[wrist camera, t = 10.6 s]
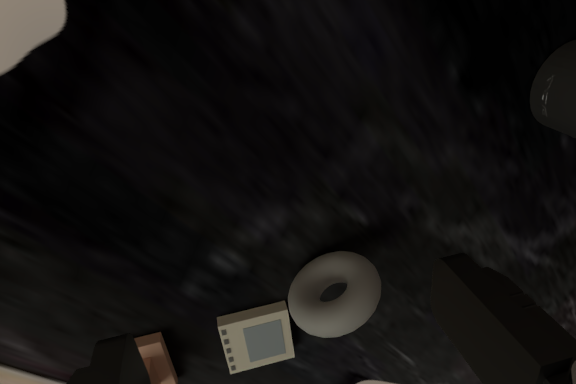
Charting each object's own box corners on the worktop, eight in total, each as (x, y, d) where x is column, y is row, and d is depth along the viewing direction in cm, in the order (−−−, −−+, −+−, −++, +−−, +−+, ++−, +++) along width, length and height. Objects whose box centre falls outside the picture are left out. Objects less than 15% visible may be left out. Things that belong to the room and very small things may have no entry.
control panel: (284, 300, 48) (287, 310, 47) (291, 347, 52) (294, 357, 50) (216, 317, 47) (217, 327, 45) (229, 364, 51) (230, 375, 49)
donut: (287, 293, 48) (310, 362, 39) (273, 273, 46) (295, 342, 37) (363, 251, 47) (403, 313, 39) (352, 230, 46) (392, 289, 37)
